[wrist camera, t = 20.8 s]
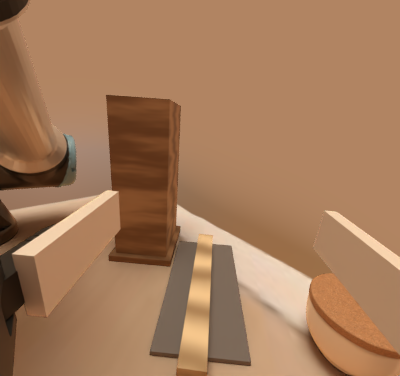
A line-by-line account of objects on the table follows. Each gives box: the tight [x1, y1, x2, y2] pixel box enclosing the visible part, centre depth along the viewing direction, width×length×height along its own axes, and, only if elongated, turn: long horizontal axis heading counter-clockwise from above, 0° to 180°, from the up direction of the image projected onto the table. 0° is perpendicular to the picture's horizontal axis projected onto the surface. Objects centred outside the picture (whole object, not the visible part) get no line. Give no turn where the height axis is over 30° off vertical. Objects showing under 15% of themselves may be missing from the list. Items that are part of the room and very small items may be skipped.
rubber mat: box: [150, 241, 251, 365], centre depth 36 cm, size 24×12×1 cm, turn 177°
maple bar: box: [176, 234, 213, 376], centre depth 33 cm, size 26×3×3 cm, turn 175°
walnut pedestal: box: [106, 95, 181, 266], centre depth 42 cm, size 14×12×30 cm
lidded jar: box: [306, 273, 400, 376], centre depth 25 cm, size 11×11×9 cm
